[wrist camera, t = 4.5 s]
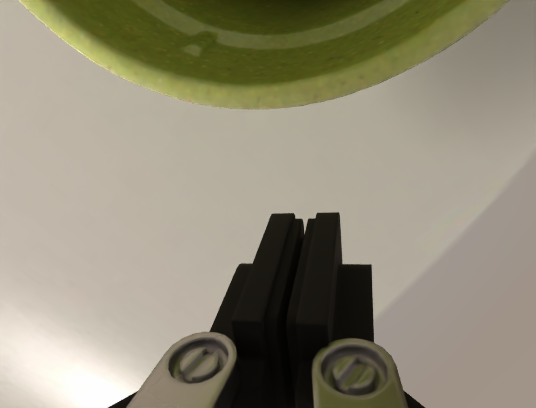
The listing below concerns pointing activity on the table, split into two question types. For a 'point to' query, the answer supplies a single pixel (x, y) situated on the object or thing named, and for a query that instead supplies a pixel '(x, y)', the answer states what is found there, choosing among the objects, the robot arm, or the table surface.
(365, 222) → the table surface
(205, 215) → the table surface
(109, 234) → the table surface
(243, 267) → the robot arm
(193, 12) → the plant pot
